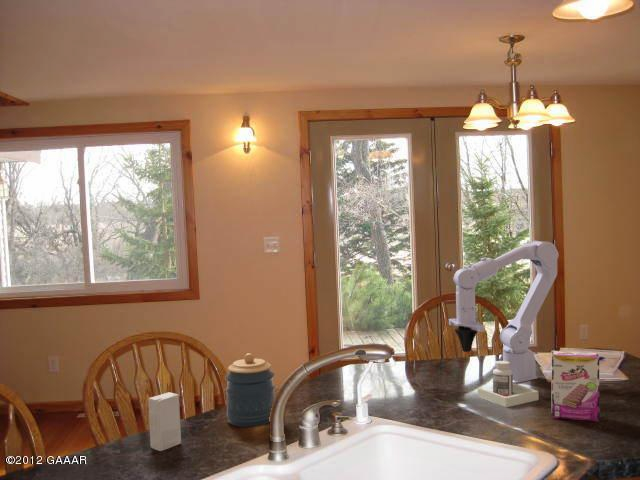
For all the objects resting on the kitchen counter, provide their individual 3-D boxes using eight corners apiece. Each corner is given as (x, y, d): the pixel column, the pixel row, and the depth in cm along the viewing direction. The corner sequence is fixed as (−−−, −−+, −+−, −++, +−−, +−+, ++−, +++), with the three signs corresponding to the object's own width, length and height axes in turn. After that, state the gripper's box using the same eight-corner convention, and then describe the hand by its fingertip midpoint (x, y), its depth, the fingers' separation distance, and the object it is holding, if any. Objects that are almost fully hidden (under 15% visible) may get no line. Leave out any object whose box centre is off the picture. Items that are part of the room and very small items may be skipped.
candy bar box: (552, 419, 153) (550, 354, 152) (551, 412, 158) (550, 350, 157) (600, 422, 149) (599, 356, 149) (598, 416, 154) (597, 352, 153)
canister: (236, 431, 152) (233, 361, 151) (220, 417, 163) (217, 352, 163) (284, 421, 158) (281, 354, 157) (265, 408, 169) (262, 345, 169)
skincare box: (171, 440, 148) (168, 391, 147) (182, 444, 145) (180, 394, 144) (149, 448, 143) (146, 397, 142) (160, 452, 140) (158, 400, 139)
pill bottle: (500, 393, 176) (500, 359, 176) (516, 396, 172) (516, 362, 172) (489, 396, 173) (488, 361, 173) (505, 400, 168) (505, 364, 168)
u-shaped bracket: (509, 390, 178) (509, 381, 178) (538, 400, 168) (538, 391, 168) (477, 397, 173) (477, 388, 173) (505, 407, 163) (505, 398, 163)
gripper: (440, 306, 193) (441, 348, 193) (471, 312, 180) (472, 357, 180) (458, 304, 196) (459, 345, 196) (489, 309, 183) (490, 354, 183)
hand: (466, 351), depth 189 cm, fingers closed
